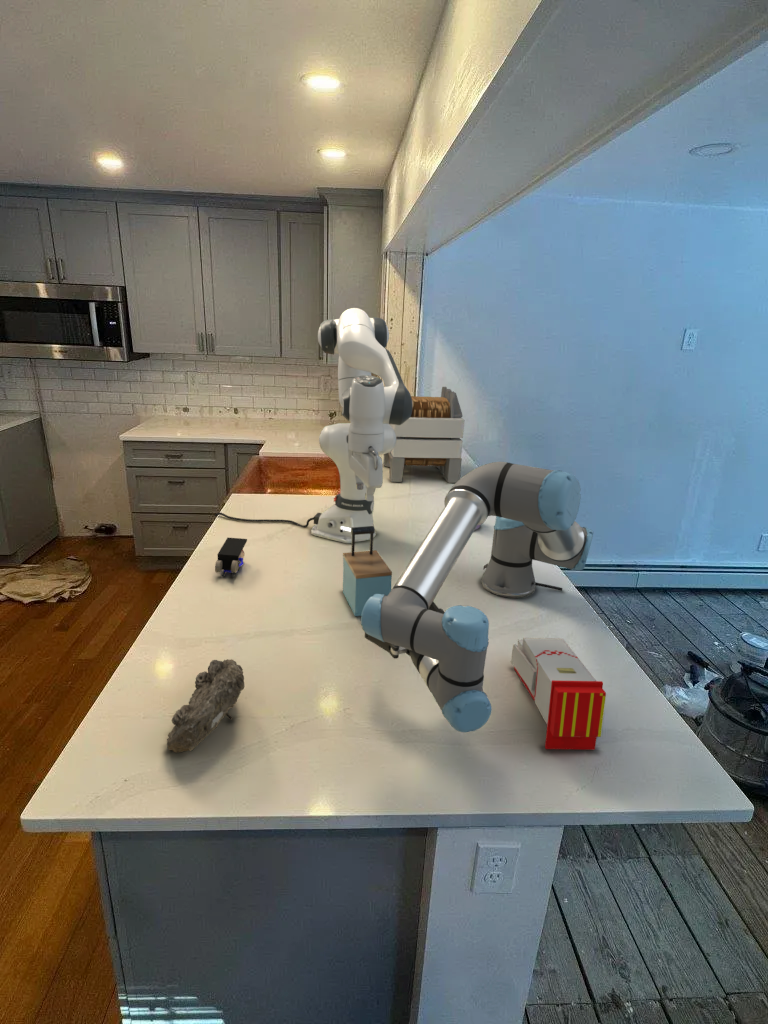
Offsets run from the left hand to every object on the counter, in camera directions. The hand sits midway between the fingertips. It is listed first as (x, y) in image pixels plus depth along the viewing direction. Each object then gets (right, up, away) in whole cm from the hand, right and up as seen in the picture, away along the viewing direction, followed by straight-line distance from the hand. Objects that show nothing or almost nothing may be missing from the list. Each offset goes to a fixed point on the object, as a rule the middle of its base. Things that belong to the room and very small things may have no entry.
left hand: (364, 494), depth 148 cm
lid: (+1, -19, +2) cm, 19 cm away
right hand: (+9, -25, -24) cm, 36 cm away
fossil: (-28, -44, -40) cm, 65 cm away
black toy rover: (-40, -22, +20) cm, 49 cm away
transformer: (+22, +14, +127) cm, 130 cm away
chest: (0, -29, +5) cm, 29 cm away
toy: (+39, -44, -31) cm, 66 cm away
